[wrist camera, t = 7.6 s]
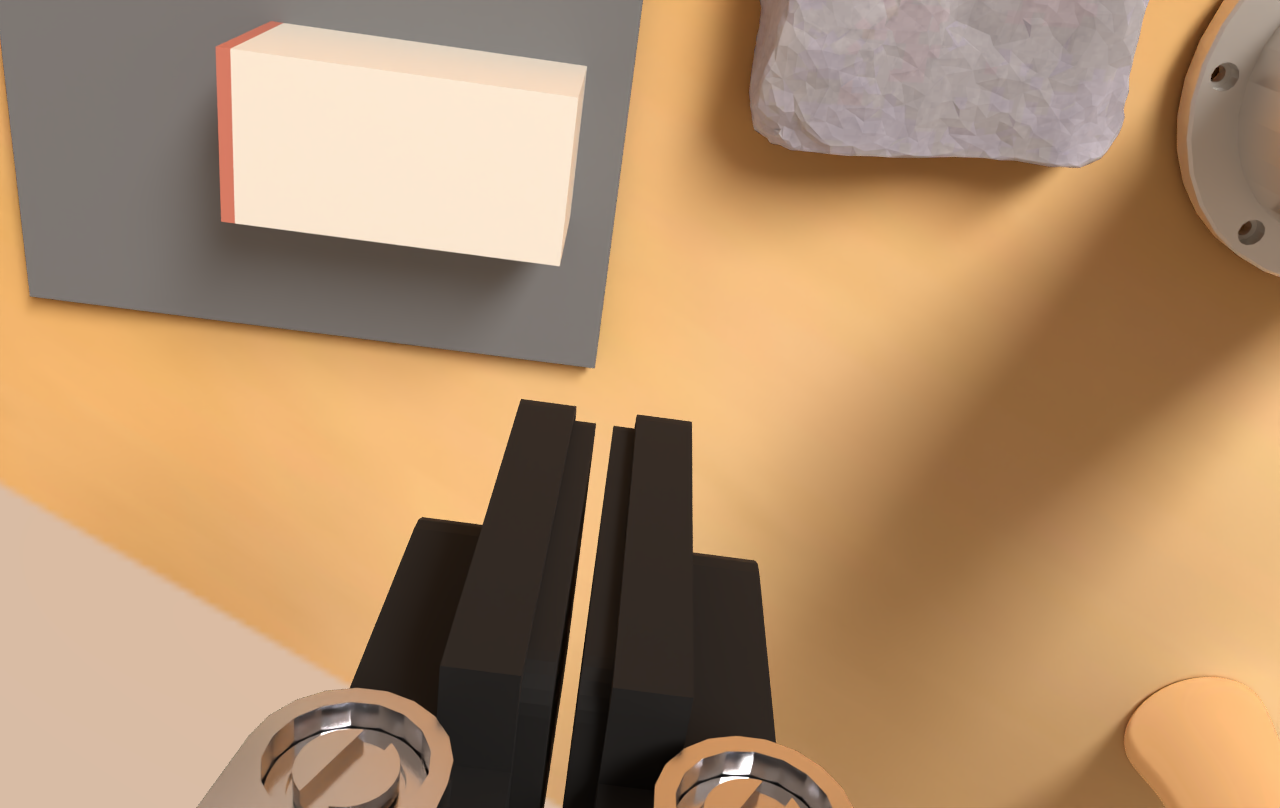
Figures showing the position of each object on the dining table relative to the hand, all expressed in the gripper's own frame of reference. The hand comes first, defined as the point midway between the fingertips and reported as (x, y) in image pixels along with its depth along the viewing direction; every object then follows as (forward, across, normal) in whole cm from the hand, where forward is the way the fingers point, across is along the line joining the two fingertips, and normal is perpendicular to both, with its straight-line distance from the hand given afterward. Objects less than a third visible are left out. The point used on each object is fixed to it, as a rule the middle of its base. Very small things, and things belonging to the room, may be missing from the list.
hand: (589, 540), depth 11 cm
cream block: (+24, +12, +3) cm, 28 cm away
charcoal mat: (+28, +11, +3) cm, 30 cm away
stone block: (+29, -8, -4) cm, 30 cm away
